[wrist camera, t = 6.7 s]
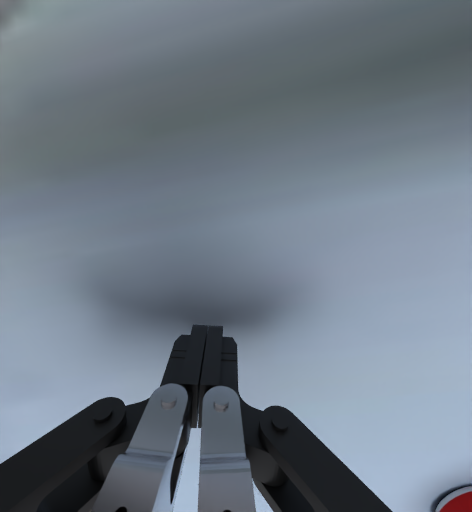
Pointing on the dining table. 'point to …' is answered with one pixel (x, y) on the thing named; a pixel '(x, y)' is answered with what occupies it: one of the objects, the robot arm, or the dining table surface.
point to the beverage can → (457, 501)
